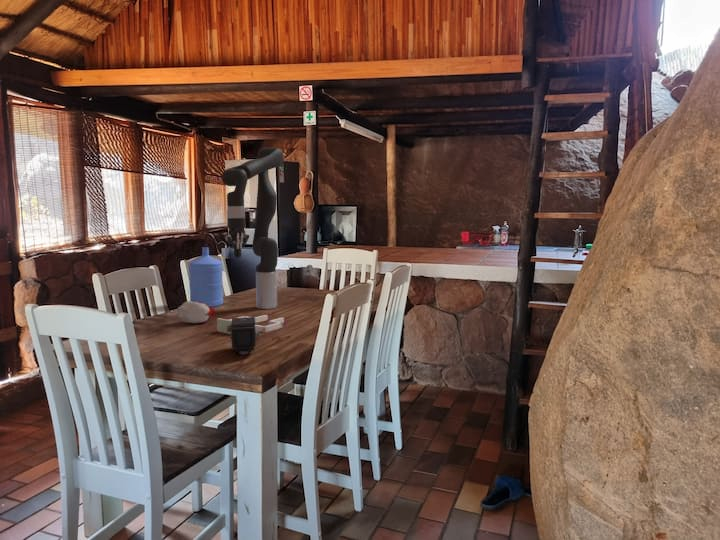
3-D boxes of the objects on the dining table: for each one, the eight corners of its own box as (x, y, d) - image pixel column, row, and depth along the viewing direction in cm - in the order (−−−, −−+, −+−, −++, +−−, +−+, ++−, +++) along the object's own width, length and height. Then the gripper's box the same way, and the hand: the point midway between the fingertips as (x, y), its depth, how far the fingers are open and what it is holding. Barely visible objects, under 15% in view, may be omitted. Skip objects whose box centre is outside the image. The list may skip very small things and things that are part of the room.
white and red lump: (174, 322, 222) (202, 320, 235) (193, 325, 216) (221, 323, 229) (175, 300, 222) (203, 299, 235) (195, 303, 216) (222, 302, 229)
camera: (227, 350, 188) (227, 357, 173) (226, 317, 187) (226, 322, 173) (258, 348, 190) (261, 355, 175) (258, 315, 190) (260, 320, 175)
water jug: (214, 308, 255) (212, 249, 252) (183, 306, 259) (182, 248, 255) (228, 302, 271) (227, 246, 267) (199, 301, 274) (198, 245, 270)
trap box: (256, 317, 235) (256, 306, 235) (294, 324, 223) (294, 312, 223) (207, 329, 213) (207, 316, 213) (246, 337, 201) (246, 324, 201)
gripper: (241, 216, 237) (242, 255, 240) (218, 217, 226) (220, 258, 229) (253, 216, 233) (255, 256, 235) (231, 217, 222) (232, 259, 224)
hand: (237, 257), depth 232 cm, fingers closed
